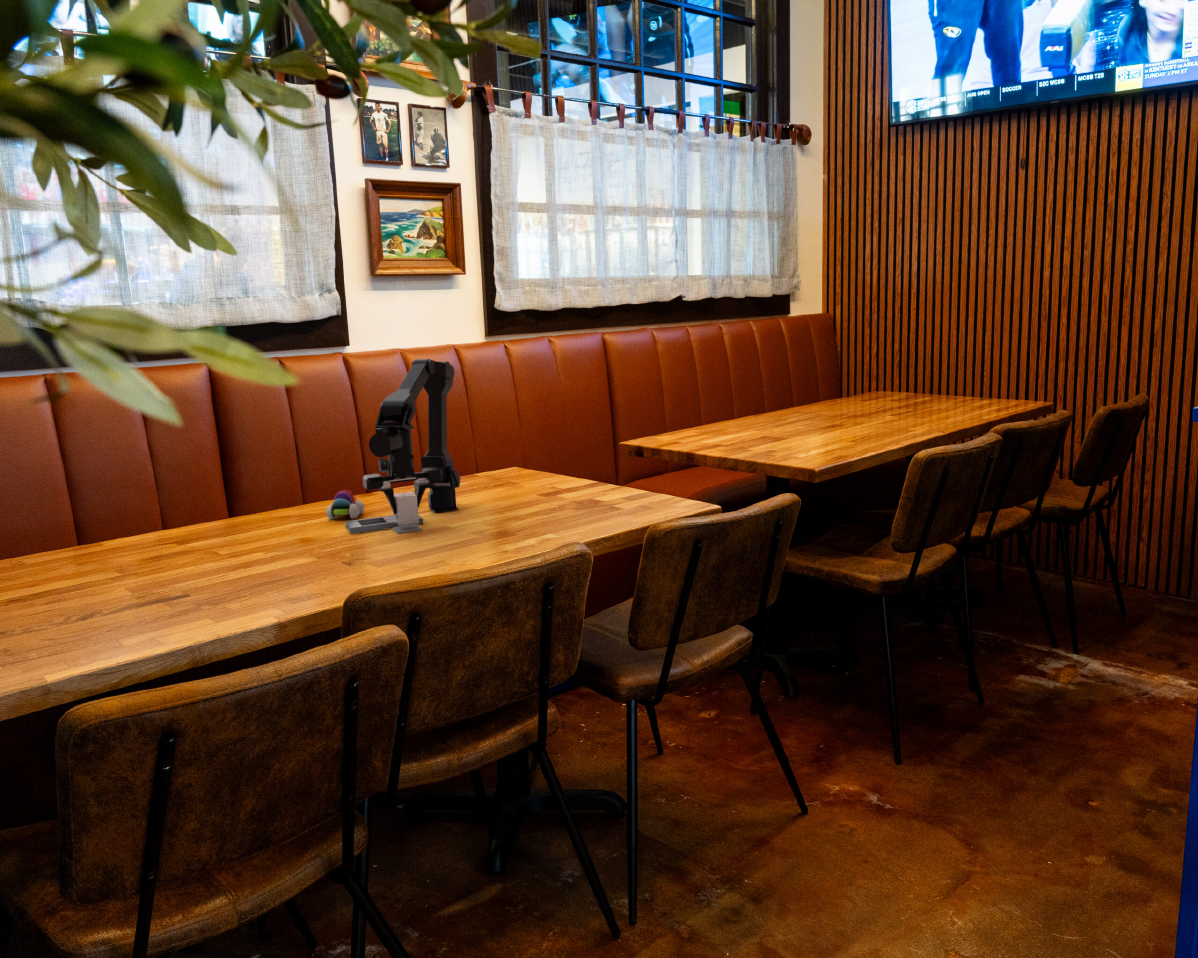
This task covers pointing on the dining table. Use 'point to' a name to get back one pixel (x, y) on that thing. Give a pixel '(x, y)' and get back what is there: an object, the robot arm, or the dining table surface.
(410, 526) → the pad
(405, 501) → the brushed metal block
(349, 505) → the rainbow dome toy
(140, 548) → the dining table surface
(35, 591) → the dining table surface
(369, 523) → the plate with rectangular hole
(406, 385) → the robot arm
